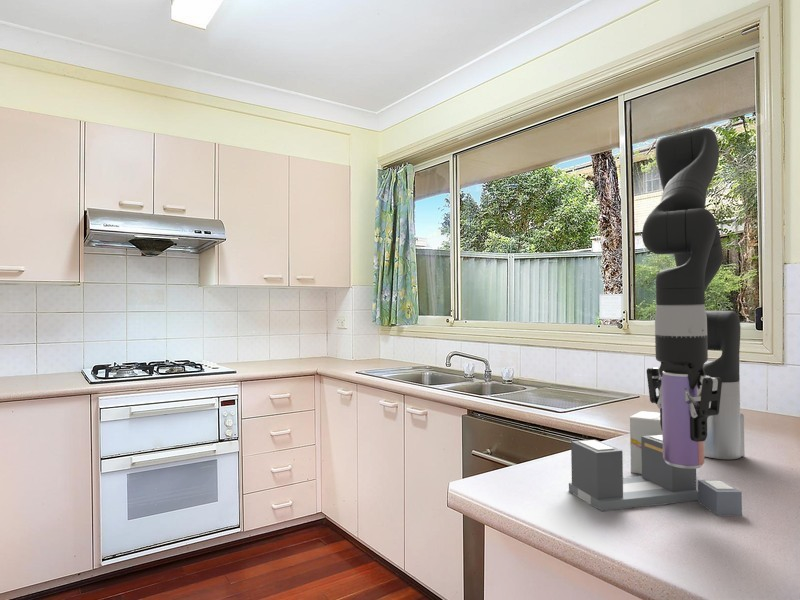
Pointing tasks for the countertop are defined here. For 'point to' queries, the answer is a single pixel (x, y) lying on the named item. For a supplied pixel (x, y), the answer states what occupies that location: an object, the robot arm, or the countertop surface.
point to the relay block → (720, 497)
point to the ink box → (640, 427)
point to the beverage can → (679, 423)
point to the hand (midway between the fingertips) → (682, 435)
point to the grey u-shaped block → (608, 490)
